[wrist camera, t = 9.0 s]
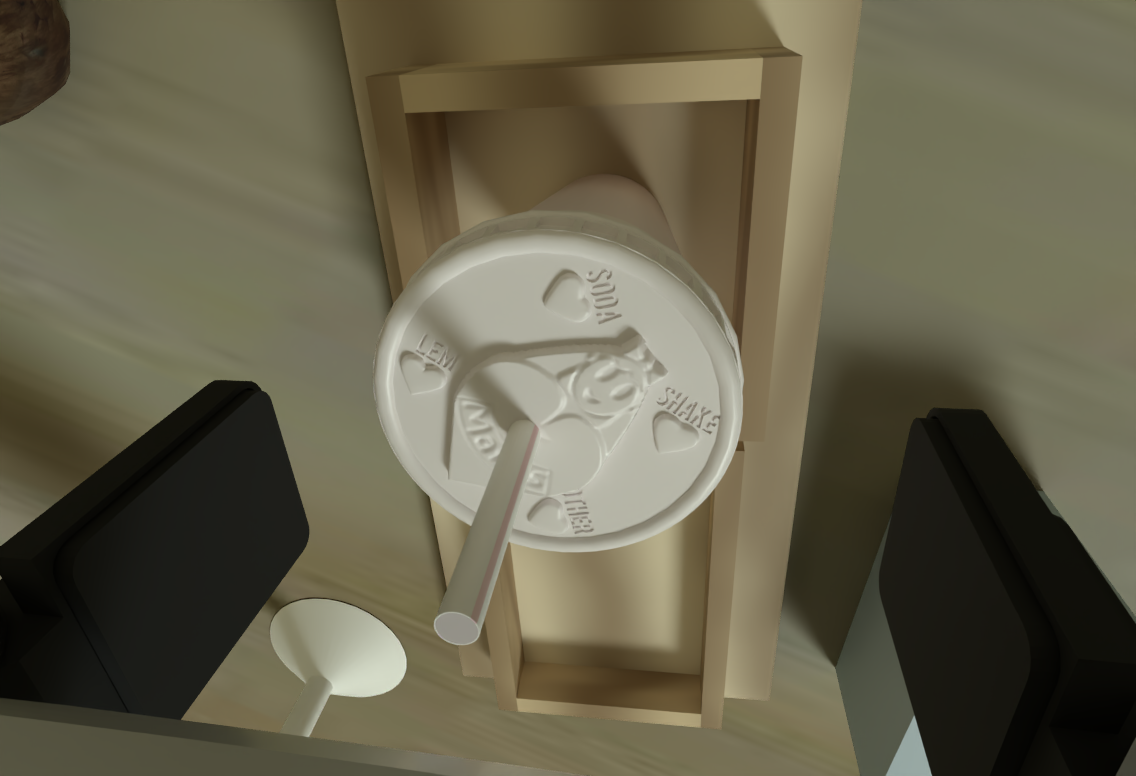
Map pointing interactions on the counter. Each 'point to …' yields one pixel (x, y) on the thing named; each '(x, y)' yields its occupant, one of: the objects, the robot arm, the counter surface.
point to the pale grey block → (885, 687)
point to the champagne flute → (334, 656)
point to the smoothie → (558, 383)
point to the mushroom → (31, 54)
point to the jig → (706, 241)
